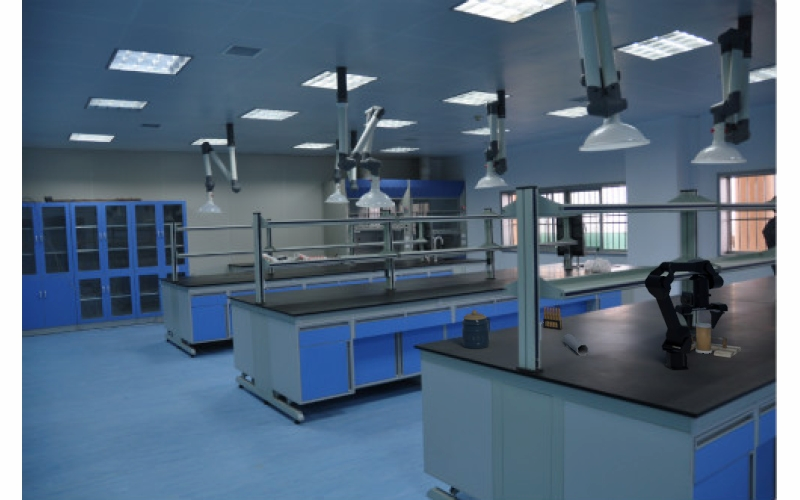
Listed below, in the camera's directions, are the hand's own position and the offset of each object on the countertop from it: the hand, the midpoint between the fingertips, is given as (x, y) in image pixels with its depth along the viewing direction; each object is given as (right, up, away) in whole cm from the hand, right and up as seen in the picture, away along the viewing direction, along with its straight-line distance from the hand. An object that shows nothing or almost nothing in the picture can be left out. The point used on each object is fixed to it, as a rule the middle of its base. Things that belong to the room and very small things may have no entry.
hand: (701, 329), depth 214 cm
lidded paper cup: (+9, -12, +14) cm, 21 cm away
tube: (-41, -14, +31) cm, 53 cm away
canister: (-84, -15, +46) cm, 97 cm away
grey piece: (+12, -12, +17) cm, 23 cm away
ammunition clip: (-38, -11, +75) cm, 85 cm away
